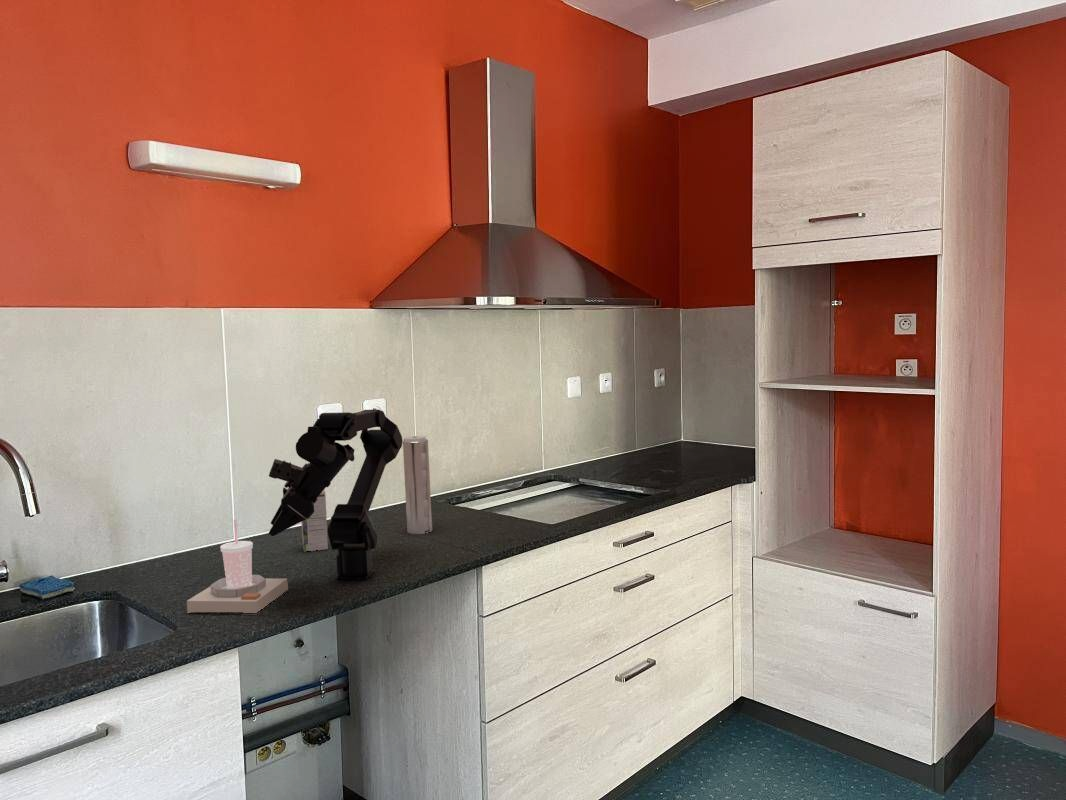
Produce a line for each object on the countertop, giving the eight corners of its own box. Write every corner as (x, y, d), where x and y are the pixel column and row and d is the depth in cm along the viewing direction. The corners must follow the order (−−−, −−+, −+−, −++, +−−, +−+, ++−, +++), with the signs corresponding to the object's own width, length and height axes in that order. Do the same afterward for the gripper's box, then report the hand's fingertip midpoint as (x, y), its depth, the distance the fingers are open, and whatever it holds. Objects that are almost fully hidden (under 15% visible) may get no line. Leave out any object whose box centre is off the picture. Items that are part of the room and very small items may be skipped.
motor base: (288, 590, 168) (286, 571, 168) (257, 614, 154) (255, 593, 154) (224, 590, 170) (222, 571, 170) (187, 613, 156) (186, 593, 156)
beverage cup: (227, 596, 158) (222, 525, 157) (219, 588, 163) (214, 519, 162) (259, 589, 161) (255, 519, 160) (250, 582, 166) (246, 514, 165)
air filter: (408, 535, 210) (404, 439, 208) (405, 529, 216) (401, 436, 214) (434, 533, 212) (429, 437, 209) (430, 527, 218) (425, 434, 216)
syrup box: (302, 547, 202) (298, 489, 201) (326, 544, 204) (323, 486, 203) (304, 552, 197) (300, 493, 196) (329, 549, 199) (325, 490, 198)
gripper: (291, 439, 173) (242, 496, 171) (290, 450, 155) (234, 514, 153) (333, 471, 176) (284, 528, 174) (336, 486, 158) (282, 550, 156)
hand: (271, 529), depth 164 cm, fingers open, 9 cm apart
